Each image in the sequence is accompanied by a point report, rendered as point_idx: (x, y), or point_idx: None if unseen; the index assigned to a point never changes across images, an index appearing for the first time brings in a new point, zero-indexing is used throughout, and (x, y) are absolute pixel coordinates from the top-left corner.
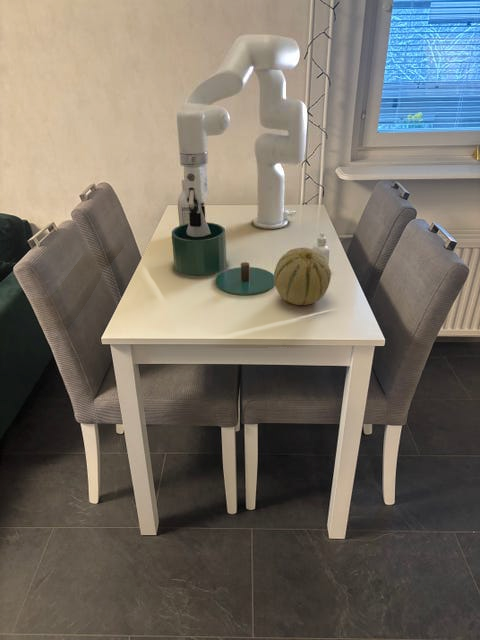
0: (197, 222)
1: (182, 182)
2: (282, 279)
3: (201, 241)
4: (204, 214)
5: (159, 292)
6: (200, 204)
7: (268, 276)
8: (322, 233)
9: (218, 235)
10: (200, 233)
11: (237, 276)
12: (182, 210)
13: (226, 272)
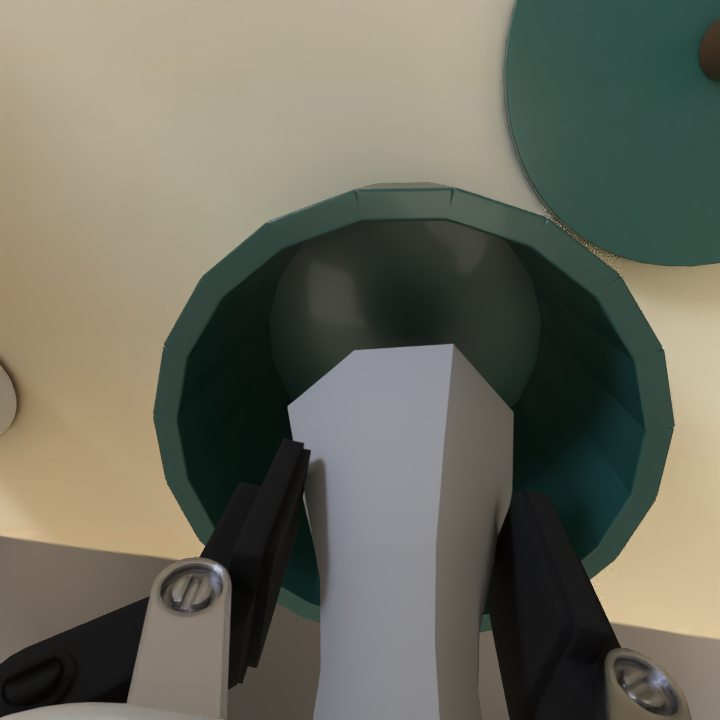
0: (581, 563)
1: None
2: None
3: (670, 438)
4: (289, 477)
5: (660, 525)
6: (452, 713)
7: None
8: None
9: (568, 271)
10: (510, 450)
11: (657, 108)
12: None
13: (572, 187)
